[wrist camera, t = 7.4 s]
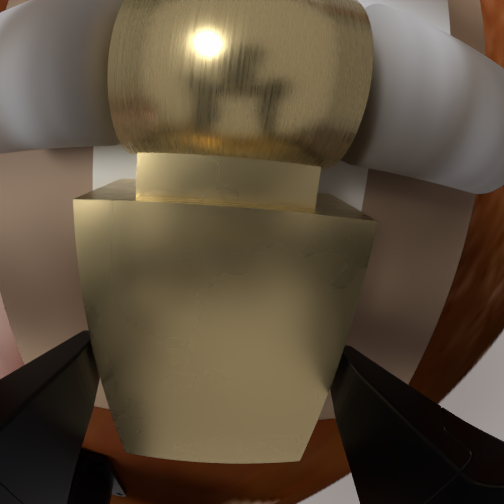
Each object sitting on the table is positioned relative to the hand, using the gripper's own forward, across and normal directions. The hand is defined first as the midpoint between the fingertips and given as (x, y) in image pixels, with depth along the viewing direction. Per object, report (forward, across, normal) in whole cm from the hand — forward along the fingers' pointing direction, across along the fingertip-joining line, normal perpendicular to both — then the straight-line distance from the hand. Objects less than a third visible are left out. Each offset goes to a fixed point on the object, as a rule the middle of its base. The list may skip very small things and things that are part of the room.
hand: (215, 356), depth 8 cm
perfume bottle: (+2, 0, -2) cm, 3 cm away
